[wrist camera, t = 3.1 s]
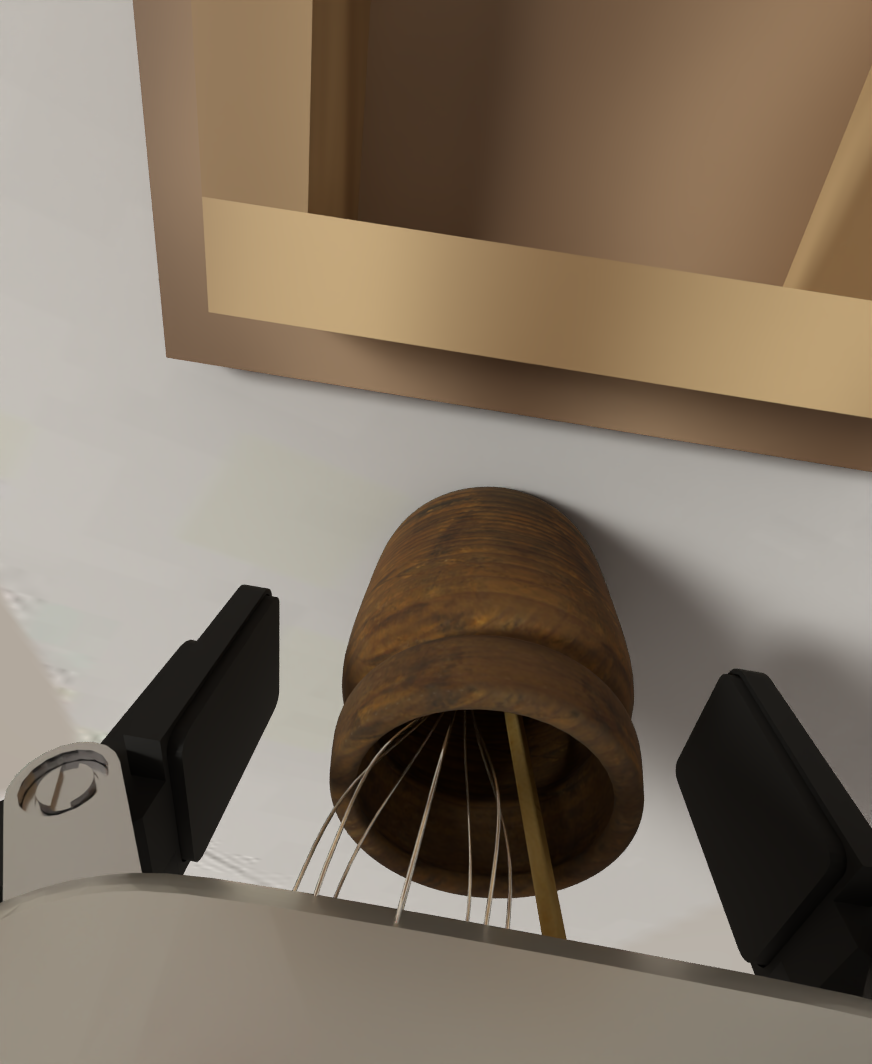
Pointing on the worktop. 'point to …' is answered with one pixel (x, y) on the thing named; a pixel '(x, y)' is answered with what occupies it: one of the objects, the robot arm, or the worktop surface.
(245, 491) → the worktop surface
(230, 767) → the robot arm
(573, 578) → the utensil holder
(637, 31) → the socket board
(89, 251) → the worktop surface
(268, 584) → the worktop surface
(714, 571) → the worktop surface
